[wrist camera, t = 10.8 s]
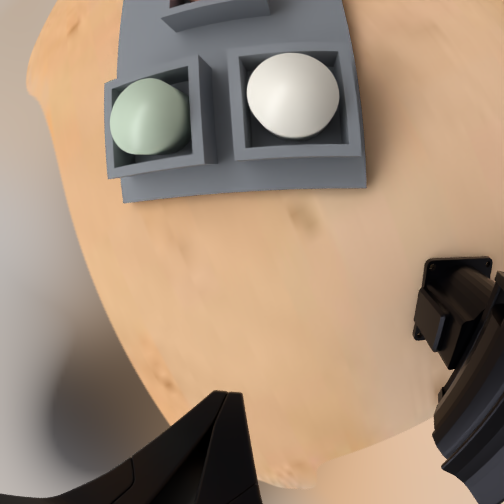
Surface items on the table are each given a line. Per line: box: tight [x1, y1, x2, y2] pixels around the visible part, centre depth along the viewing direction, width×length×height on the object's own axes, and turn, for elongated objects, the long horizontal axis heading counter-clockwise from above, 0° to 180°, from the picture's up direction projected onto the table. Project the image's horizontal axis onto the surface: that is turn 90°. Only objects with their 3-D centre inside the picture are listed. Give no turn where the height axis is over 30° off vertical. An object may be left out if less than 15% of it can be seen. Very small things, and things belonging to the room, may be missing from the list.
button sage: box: [110, 78, 192, 155], centre depth 14 cm, size 4×4×3 cm
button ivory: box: [247, 53, 339, 141], centre depth 13 cm, size 4×4×3 cm
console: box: [104, 0, 367, 203], centre depth 13 cm, size 16×20×4 cm
